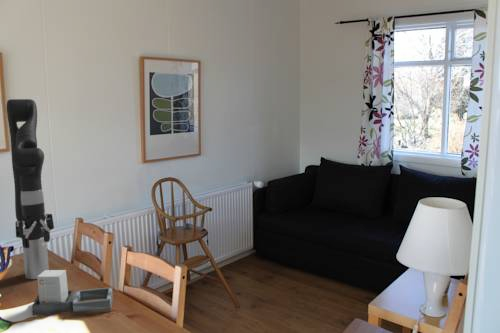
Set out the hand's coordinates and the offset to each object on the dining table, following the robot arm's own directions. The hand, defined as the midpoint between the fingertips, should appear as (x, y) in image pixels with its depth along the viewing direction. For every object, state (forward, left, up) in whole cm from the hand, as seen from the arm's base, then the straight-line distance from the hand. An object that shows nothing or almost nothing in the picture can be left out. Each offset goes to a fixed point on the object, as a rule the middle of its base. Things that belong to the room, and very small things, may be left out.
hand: (36, 244), depth 166 cm
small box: (+8, +6, -22) cm, 24 cm away
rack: (+11, +20, -21) cm, 32 cm away
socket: (+8, +6, -21) cm, 24 cm away
